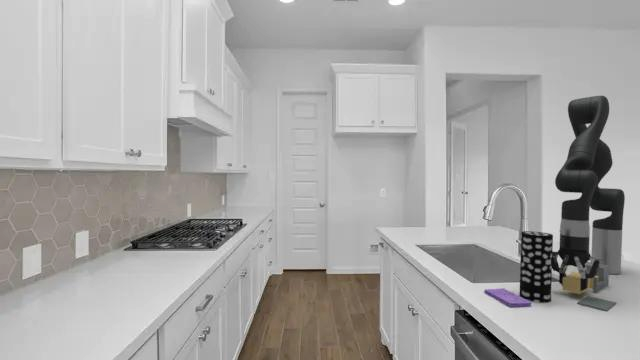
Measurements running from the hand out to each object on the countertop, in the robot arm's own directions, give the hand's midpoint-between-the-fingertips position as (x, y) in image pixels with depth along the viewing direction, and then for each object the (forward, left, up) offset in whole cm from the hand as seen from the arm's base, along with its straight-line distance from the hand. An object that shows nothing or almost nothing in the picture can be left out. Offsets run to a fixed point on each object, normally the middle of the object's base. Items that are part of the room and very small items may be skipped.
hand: (572, 287), depth 109 cm
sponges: (+20, -11, -4) cm, 23 cm away
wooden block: (-3, 0, -1) cm, 3 cm away
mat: (+1, +7, -3) cm, 7 cm away
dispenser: (-17, 0, -3) cm, 17 cm away
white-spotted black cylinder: (+11, -6, -3) cm, 13 cm away
